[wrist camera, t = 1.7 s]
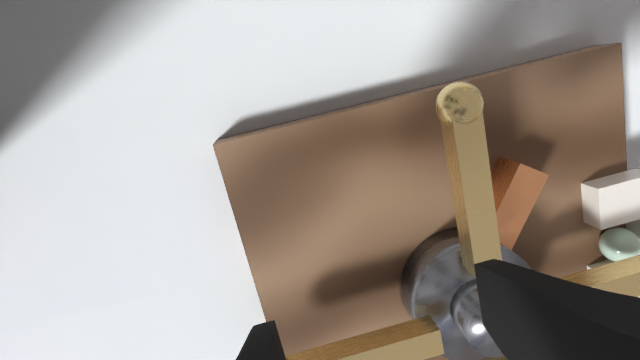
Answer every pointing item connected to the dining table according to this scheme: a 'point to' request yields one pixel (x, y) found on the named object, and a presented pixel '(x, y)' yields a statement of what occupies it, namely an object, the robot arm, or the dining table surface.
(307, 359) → the capstan
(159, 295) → the dining table surface
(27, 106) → the dining table surface
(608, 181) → the frame
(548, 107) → the stand board
